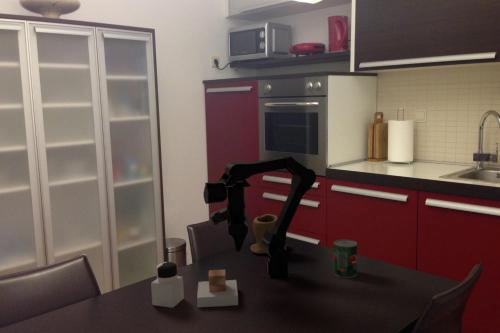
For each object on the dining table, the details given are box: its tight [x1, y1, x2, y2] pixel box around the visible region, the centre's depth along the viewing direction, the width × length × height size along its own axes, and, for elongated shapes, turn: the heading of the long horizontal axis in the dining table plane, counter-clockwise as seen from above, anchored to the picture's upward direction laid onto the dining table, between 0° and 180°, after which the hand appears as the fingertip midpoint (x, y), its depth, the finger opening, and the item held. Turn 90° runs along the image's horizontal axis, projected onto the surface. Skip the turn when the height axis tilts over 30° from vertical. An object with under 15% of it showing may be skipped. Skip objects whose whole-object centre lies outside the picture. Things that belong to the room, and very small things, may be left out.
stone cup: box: [250, 213, 287, 254], centre depth 182 cm, size 15×12×15 cm
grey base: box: [196, 279, 239, 308], centre depth 140 cm, size 12×12×3 cm
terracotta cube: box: [208, 269, 227, 292], centre depth 140 cm, size 5×5×5 cm
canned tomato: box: [333, 239, 358, 279], centre depth 157 cm, size 8×8×11 cm
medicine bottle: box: [150, 261, 185, 309], centre depth 138 cm, size 7×7×12 cm
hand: (237, 246), depth 151 cm, fingers open, 9 cm apart
